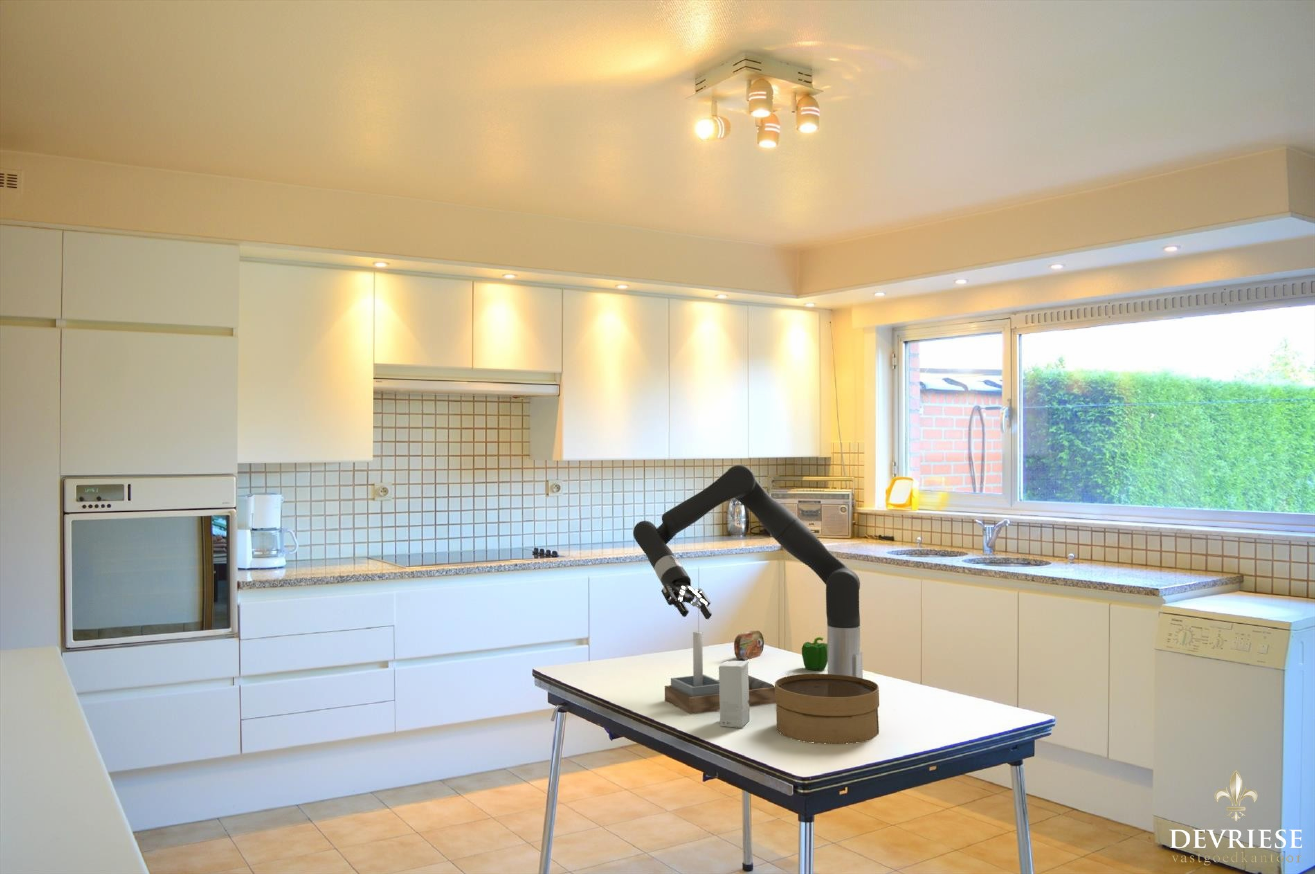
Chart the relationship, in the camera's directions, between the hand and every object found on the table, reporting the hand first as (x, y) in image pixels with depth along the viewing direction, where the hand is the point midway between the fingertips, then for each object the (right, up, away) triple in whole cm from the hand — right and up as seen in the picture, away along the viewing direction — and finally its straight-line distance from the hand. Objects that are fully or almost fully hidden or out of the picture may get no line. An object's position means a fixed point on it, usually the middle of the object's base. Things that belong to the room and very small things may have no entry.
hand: (697, 615), depth 267 cm
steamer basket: (+30, -22, -31) cm, 48 cm away
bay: (+6, -22, -3) cm, 23 cm away
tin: (+19, -24, +54) cm, 62 cm away
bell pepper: (+38, -23, +36) cm, 57 cm away
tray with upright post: (0, -21, -6) cm, 22 cm away
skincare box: (+8, -22, -25) cm, 34 cm away
